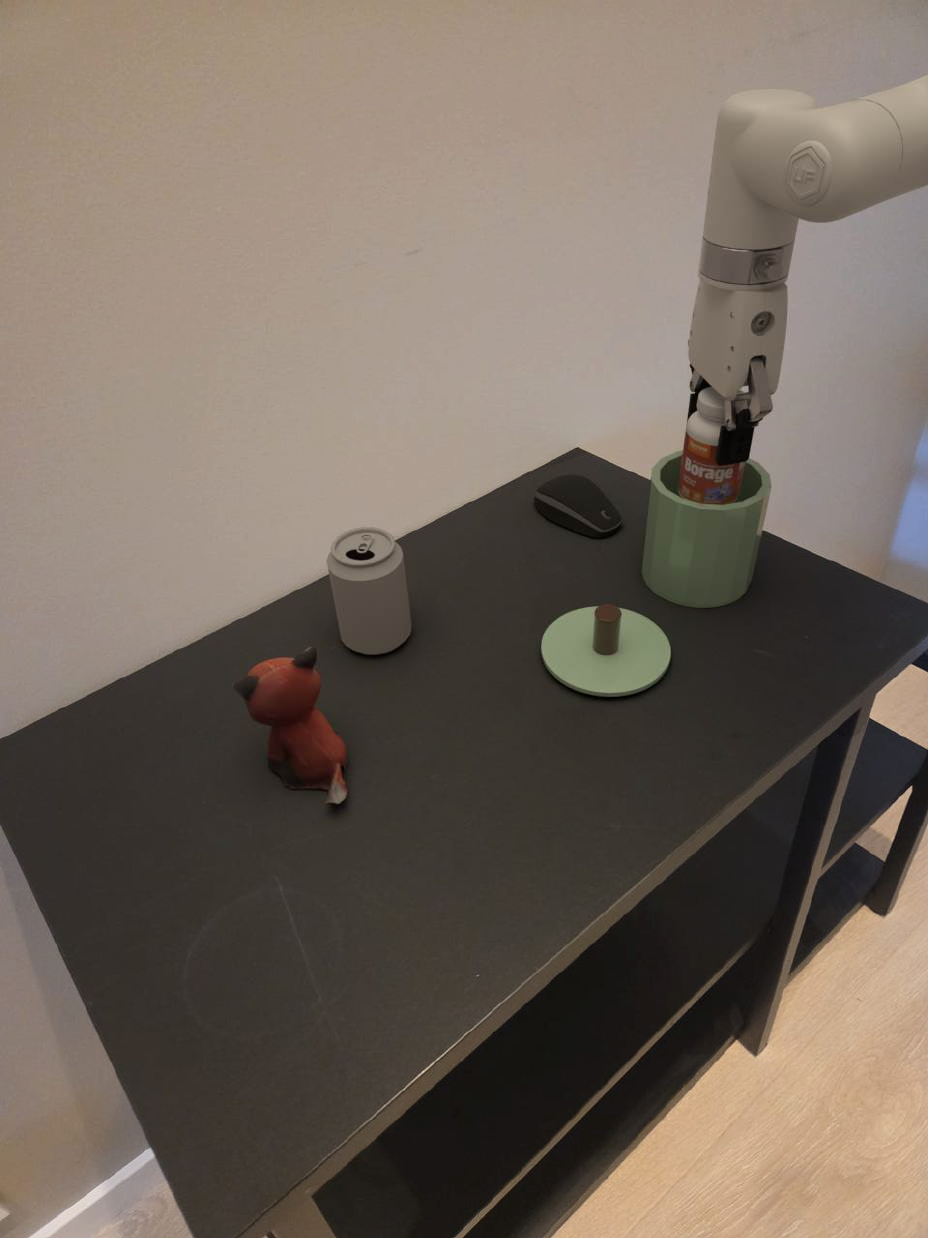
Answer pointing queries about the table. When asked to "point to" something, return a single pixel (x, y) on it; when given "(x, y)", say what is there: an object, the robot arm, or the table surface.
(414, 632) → the table surface
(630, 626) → the lid
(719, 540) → the pot
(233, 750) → the table surface
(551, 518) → the computer mouse
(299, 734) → the stuffed fox
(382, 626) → the can
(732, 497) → the pill bottle
